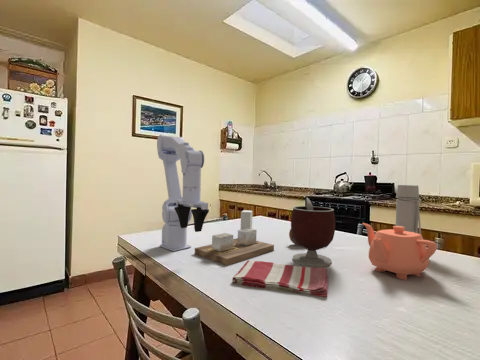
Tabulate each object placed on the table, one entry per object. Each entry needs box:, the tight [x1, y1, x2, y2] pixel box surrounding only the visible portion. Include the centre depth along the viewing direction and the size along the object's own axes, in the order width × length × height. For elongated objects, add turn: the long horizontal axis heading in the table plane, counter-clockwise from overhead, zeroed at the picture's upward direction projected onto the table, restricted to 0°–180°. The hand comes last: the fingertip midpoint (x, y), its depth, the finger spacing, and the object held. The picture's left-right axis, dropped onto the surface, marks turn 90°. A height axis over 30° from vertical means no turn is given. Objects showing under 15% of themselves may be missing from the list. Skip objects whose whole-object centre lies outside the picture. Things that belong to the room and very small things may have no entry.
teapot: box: [361, 222, 438, 281], centre depth 78 cm, size 16×17×14 cm
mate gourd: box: [290, 197, 336, 268], centre depth 87 cm, size 16×14×20 cm
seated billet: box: [237, 228, 258, 247], centre depth 99 cm, size 4×6×7 cm, turn 137°
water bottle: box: [395, 184, 422, 235], centre depth 98 cm, size 9×8×25 cm
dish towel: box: [231, 260, 329, 298], centre depth 71 cm, size 17×23×3 cm
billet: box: [211, 232, 234, 253], centre depth 90 cm, size 4×6×7 cm, turn 137°
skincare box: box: [240, 209, 253, 230], centre depth 115 cm, size 6×4×12 cm
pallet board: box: [194, 237, 275, 266], centre depth 94 cm, size 16×24×2 cm, turn 137°
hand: (190, 229), depth 86 cm, fingers open, 7 cm apart
